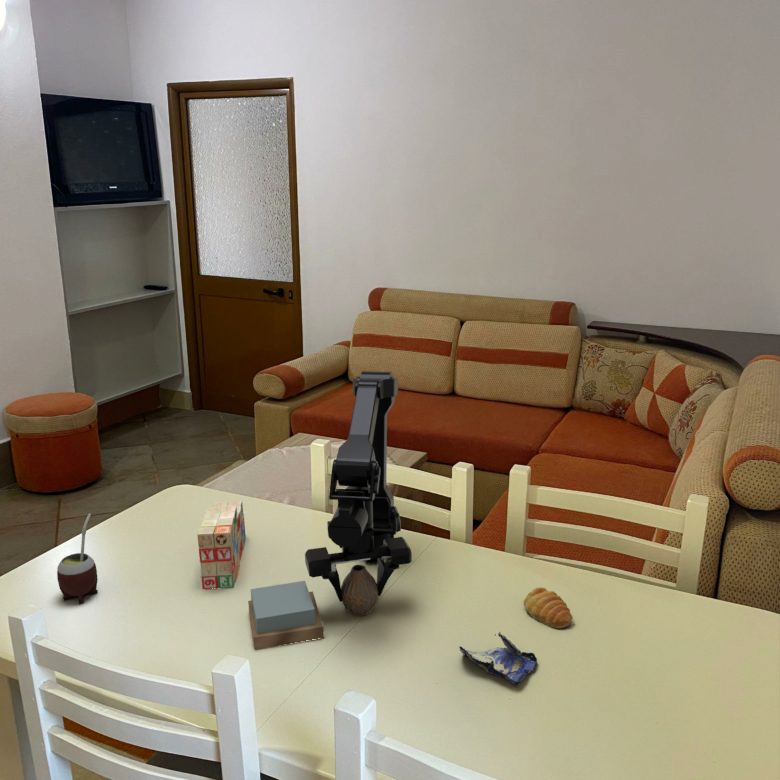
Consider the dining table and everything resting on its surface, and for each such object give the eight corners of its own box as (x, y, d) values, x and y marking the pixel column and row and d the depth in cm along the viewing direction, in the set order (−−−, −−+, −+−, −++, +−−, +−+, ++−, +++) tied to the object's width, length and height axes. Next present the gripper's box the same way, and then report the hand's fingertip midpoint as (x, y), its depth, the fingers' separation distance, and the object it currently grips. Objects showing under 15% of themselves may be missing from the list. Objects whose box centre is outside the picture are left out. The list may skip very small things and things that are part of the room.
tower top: (305, 594, 142) (305, 580, 142) (315, 624, 133) (314, 609, 132) (251, 603, 140) (250, 589, 139) (257, 634, 131) (256, 618, 130)
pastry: (581, 624, 136) (582, 605, 135) (551, 635, 133) (552, 616, 132) (547, 599, 144) (548, 581, 143) (518, 609, 141) (519, 591, 140)
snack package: (502, 638, 133) (447, 659, 127) (508, 609, 130) (452, 628, 124) (548, 686, 124) (491, 710, 118) (555, 655, 121) (497, 679, 115)
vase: (383, 603, 143) (382, 561, 141) (371, 623, 137) (369, 579, 135) (349, 597, 146) (348, 555, 143) (335, 616, 139) (333, 573, 137)
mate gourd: (61, 609, 143) (50, 537, 139) (60, 589, 150) (49, 520, 146) (103, 600, 146) (93, 529, 142) (100, 581, 153) (90, 512, 149)
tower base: (313, 605, 144) (312, 591, 144) (324, 641, 133) (323, 626, 132) (249, 615, 142) (248, 600, 141) (254, 653, 130) (253, 637, 130)
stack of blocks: (217, 539, 170) (213, 488, 166) (246, 538, 170) (242, 487, 167) (202, 590, 149) (196, 533, 146) (234, 588, 150) (229, 531, 146)
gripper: (396, 496, 146) (397, 569, 150) (298, 508, 142) (303, 583, 146) (412, 521, 136) (412, 599, 140) (307, 535, 131) (311, 614, 136)
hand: (359, 597), depth 141 cm, fingers closed on vase, 7 cm apart
